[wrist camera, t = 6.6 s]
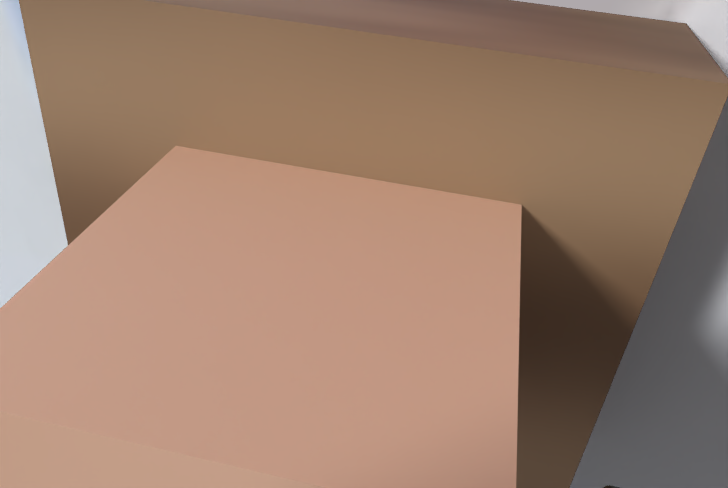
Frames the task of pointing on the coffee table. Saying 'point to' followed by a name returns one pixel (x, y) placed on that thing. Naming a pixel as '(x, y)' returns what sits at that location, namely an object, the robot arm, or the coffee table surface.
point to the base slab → (415, 140)
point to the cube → (268, 337)
